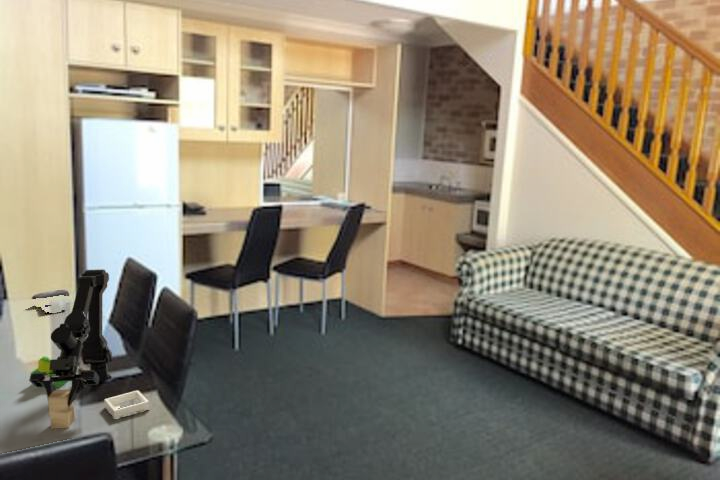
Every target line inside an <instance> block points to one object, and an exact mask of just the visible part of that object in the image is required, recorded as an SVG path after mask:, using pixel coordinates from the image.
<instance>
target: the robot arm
mask: <svg viewBox="0 0 720 480" xmlns="http://www.w3.org/2000/svg"><path fill="white" fill-rule="evenodd" d="M109 281H110V274H109V272H107V271H106V269H86V270H85V271H84V272H81V273H80V274H79V275H78V279H77V285H78V286H77V290H76V294H75V298H74V301H73V306H72V310H71V312H70V313H69V314H68V315H67V316H66V317H65V319H64V320H63V323H60V324H59V327H57V328H54V330H53V331H52V332H51V334H50V340H51V341H52V343H53V344H54V345H55V346H56V347H57V349H58V350H60V353H59V354H60V355H59V356H57V358H56V359H54V358H53V359H52V360H50V367H49V370H53V371H52V372H53V373H55V374H56V375H53V376H50V375H48V374H47V373H46V372H34V373H32V374H30V375H29V379H28V382H30V383H31V384H32V385H33V387H35V388H44V389H45V391H46V395H47V398H48V397H49V396H50V395H51V393H52V392H53V391H54V390H57V387H55V386H54V382H63V381H67V382H71V388H70V389H71V391H70V395H69V399H68V406H70V405H71V404H72V402H73V403H74V401H75V399H76V398H77V397H78V395H79V394H80V393H81V392H82V391H83V389H85V388H88V386H93V385H95V386H97V385H99V382H101V381H105V380H108V379H111V378H112V375H111V374H110V373H109V372H108V371H109V370H108V364H109V363H112V362H113V352H112V351H111V349H110V348H109V346H108V341H107V339H106V337H105V336H104V335H103V294H104V293H105V291H106V290H107V288H108V282H109ZM82 338H84V341H83V342H82V341H81V340H80V339H82ZM80 357H81V360H82V363H83V365H88V366H89V369H83V370H81V371H80V373H79V374H78V368H79V367H80V365H81V362H80ZM47 403H48V402H47ZM48 405H49V403H48Z"/></svg>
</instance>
